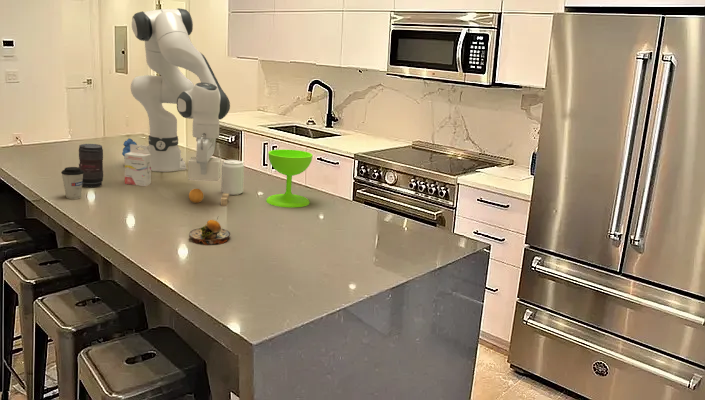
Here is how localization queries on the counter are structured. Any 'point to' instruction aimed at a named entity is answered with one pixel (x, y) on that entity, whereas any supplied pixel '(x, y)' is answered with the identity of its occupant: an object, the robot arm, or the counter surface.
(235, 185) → the beverage can
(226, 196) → the oak stop strip
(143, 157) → the ink cartridge box
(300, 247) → the counter surface
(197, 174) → the matte white cuboid
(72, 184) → the coffee cup
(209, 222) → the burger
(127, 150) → the grapes
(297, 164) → the wineglass
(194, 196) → the ball
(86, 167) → the camera lens
